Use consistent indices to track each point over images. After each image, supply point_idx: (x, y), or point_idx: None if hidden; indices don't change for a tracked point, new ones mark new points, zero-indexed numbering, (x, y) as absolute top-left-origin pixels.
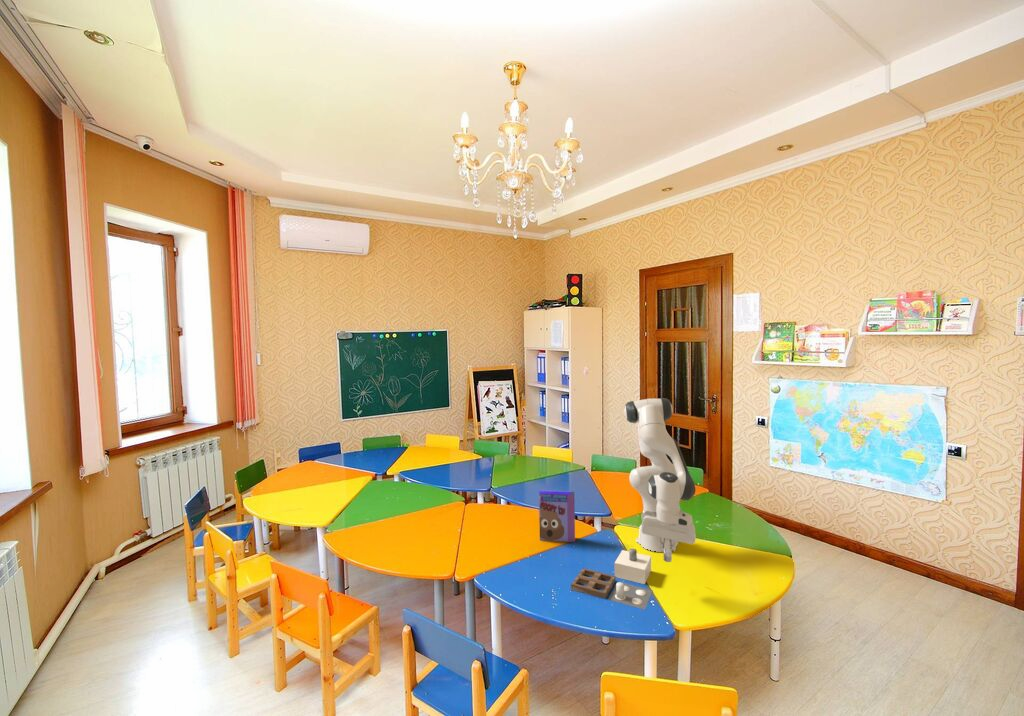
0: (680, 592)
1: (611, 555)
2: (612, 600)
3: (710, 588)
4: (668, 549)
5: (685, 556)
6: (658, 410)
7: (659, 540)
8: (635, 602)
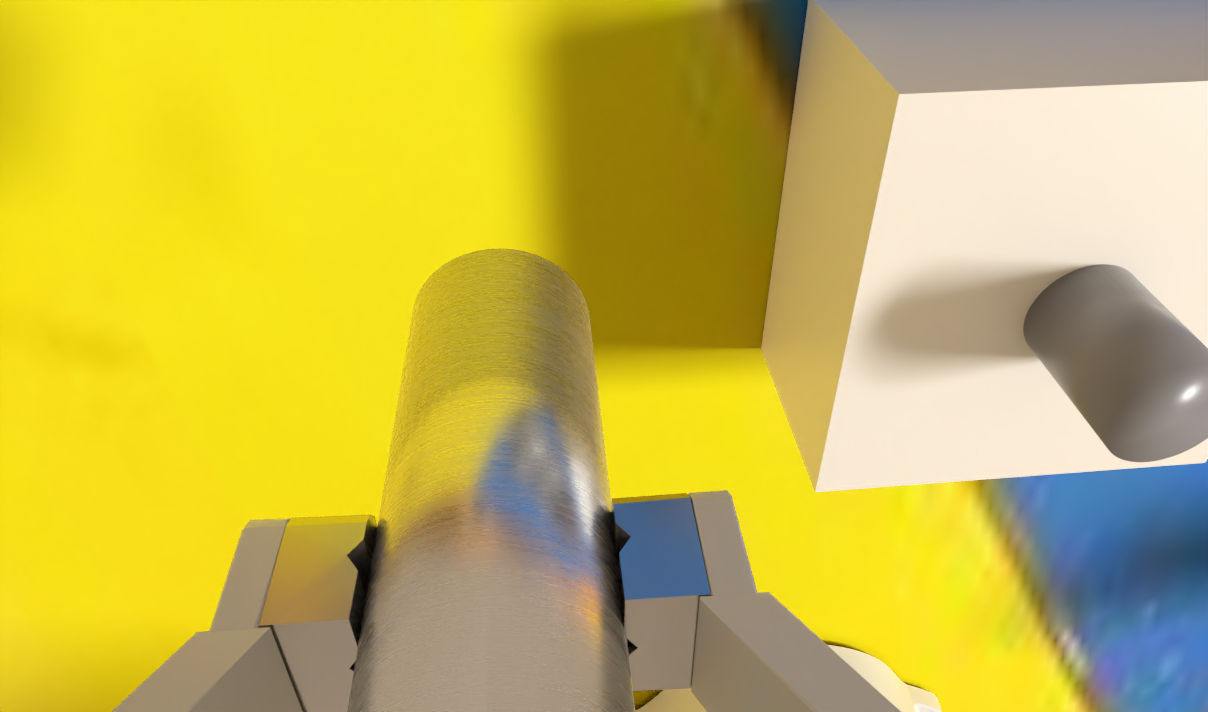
0: (332, 96)
1: None
2: None
3: (69, 351)
4: (438, 487)
5: None
6: None
7: (795, 699)
8: None
